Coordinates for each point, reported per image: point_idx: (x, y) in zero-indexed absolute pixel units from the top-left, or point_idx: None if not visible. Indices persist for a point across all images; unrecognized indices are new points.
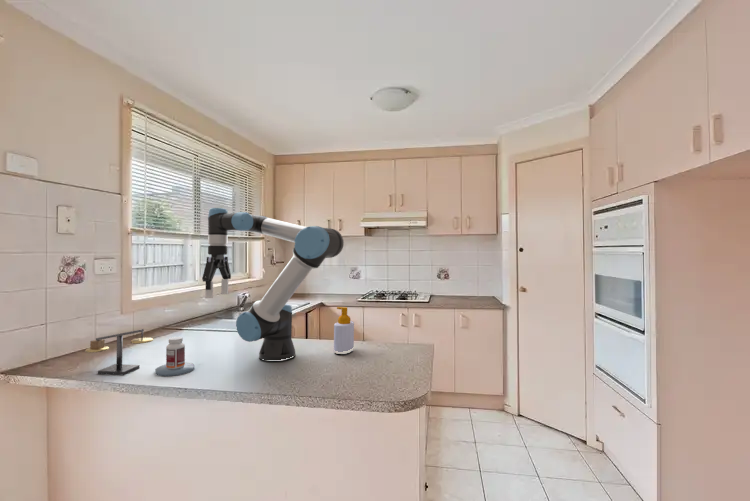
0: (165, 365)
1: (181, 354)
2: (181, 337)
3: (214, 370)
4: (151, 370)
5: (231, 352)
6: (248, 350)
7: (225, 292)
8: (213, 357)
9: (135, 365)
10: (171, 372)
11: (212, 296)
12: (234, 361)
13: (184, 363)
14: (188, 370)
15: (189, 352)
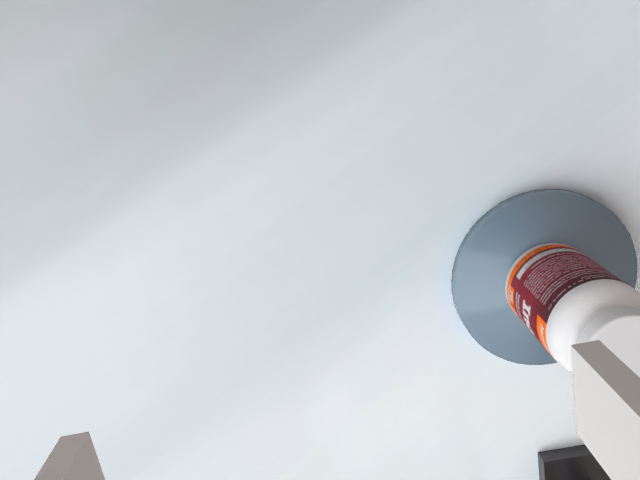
0: (526, 350)
1: (592, 266)
2: (598, 337)
3: (498, 80)
4: (556, 381)
5: (150, 214)
6: (66, 136)
7: (88, 478)
8: (280, 248)
9: (552, 472)
10: (625, 239)
11: (596, 351)
12: (315, 74)
13: (536, 251)
14: (564, 192)
15: (235, 434)
